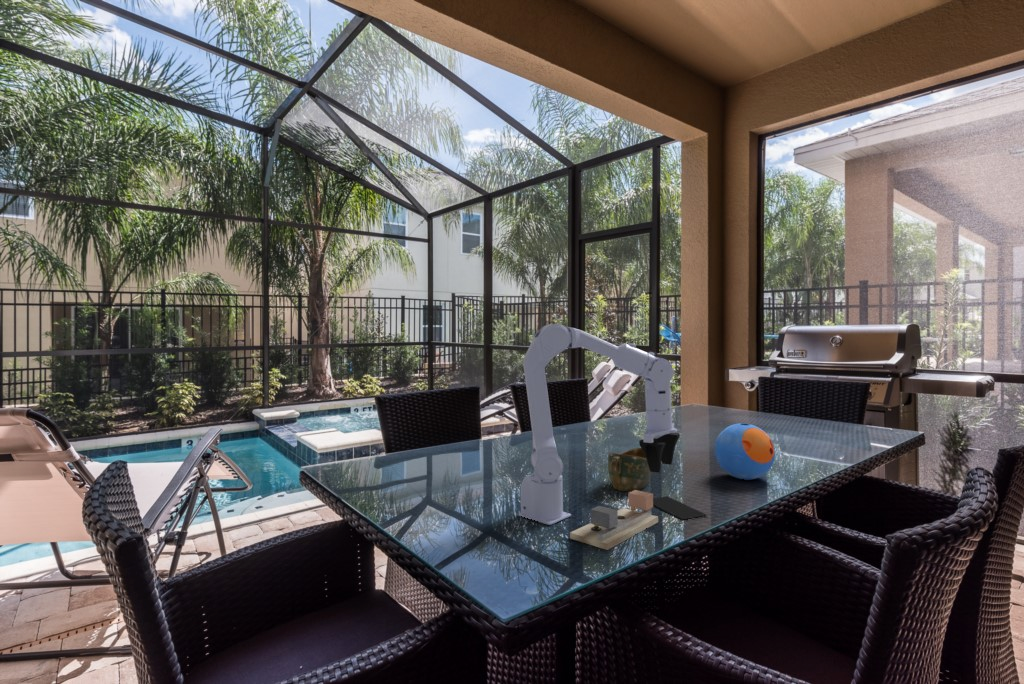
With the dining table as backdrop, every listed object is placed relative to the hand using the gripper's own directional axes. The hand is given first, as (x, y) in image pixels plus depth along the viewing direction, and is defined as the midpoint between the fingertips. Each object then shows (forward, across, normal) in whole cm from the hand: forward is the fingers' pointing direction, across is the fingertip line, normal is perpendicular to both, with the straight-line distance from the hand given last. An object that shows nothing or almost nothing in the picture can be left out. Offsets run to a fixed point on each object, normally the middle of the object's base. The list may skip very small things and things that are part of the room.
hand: (661, 467), depth 125 cm
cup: (+11, +16, +15) cm, 25 cm away
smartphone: (+11, +4, -1) cm, 12 cm away
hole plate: (+10, -16, +4) cm, 19 cm away
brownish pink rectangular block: (+9, -7, +3) cm, 11 cm away
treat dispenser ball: (+12, +39, -9) cm, 42 cm away
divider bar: (+9, -16, +2) cm, 19 cm away
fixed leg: (+8, -21, +5) cm, 23 cm away
